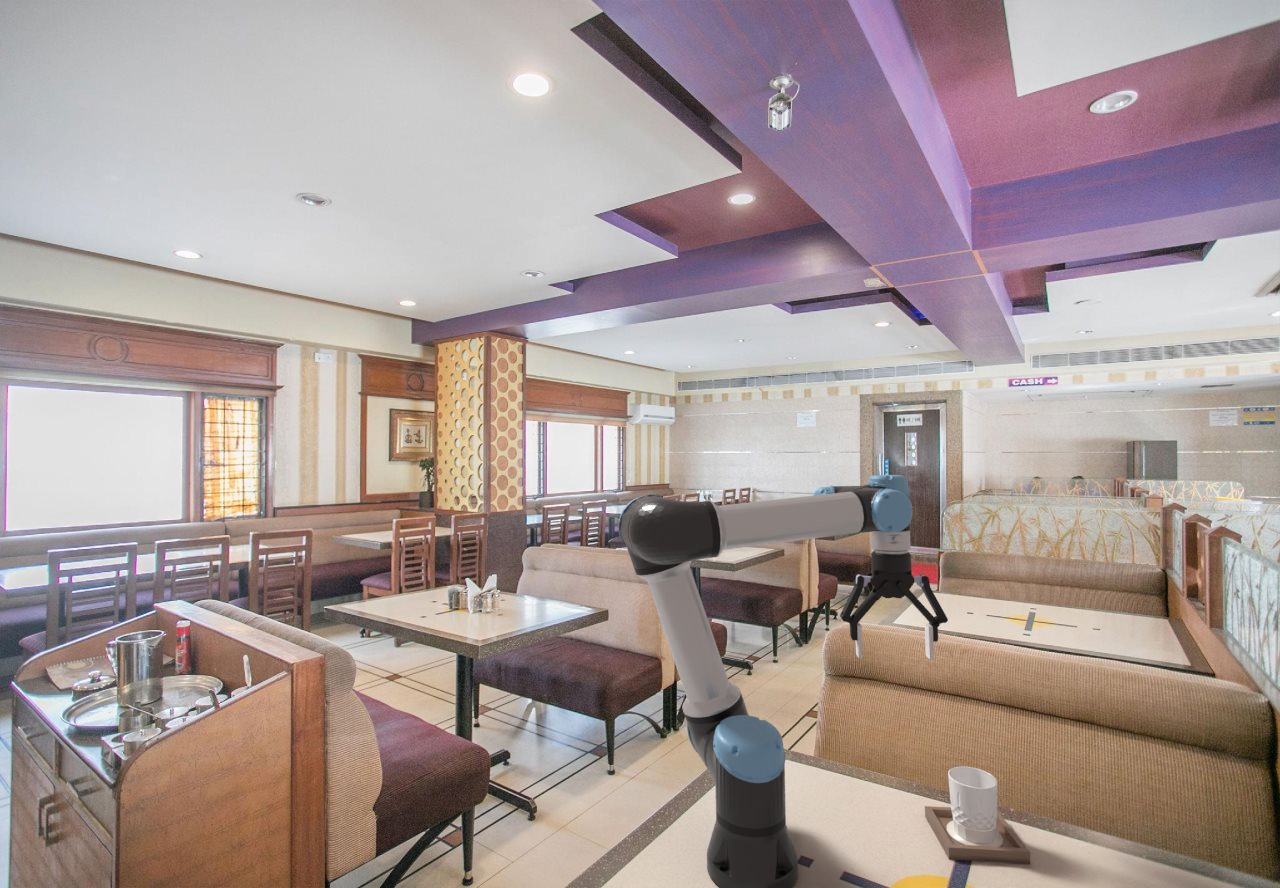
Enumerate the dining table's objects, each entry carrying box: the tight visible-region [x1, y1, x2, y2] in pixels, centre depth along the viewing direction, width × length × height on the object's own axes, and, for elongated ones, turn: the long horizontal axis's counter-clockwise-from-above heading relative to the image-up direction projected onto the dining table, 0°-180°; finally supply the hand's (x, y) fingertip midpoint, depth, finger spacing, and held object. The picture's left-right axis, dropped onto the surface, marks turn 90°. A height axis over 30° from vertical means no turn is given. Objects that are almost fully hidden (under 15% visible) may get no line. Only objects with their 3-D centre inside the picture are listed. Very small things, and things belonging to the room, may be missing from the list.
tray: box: [924, 805, 1031, 865], centre depth 114 cm, size 13×13×2 cm
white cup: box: [947, 766, 998, 844], centre depth 114 cm, size 8×8×10 cm
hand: (894, 657), depth 127 cm, fingers open, 13 cm apart
